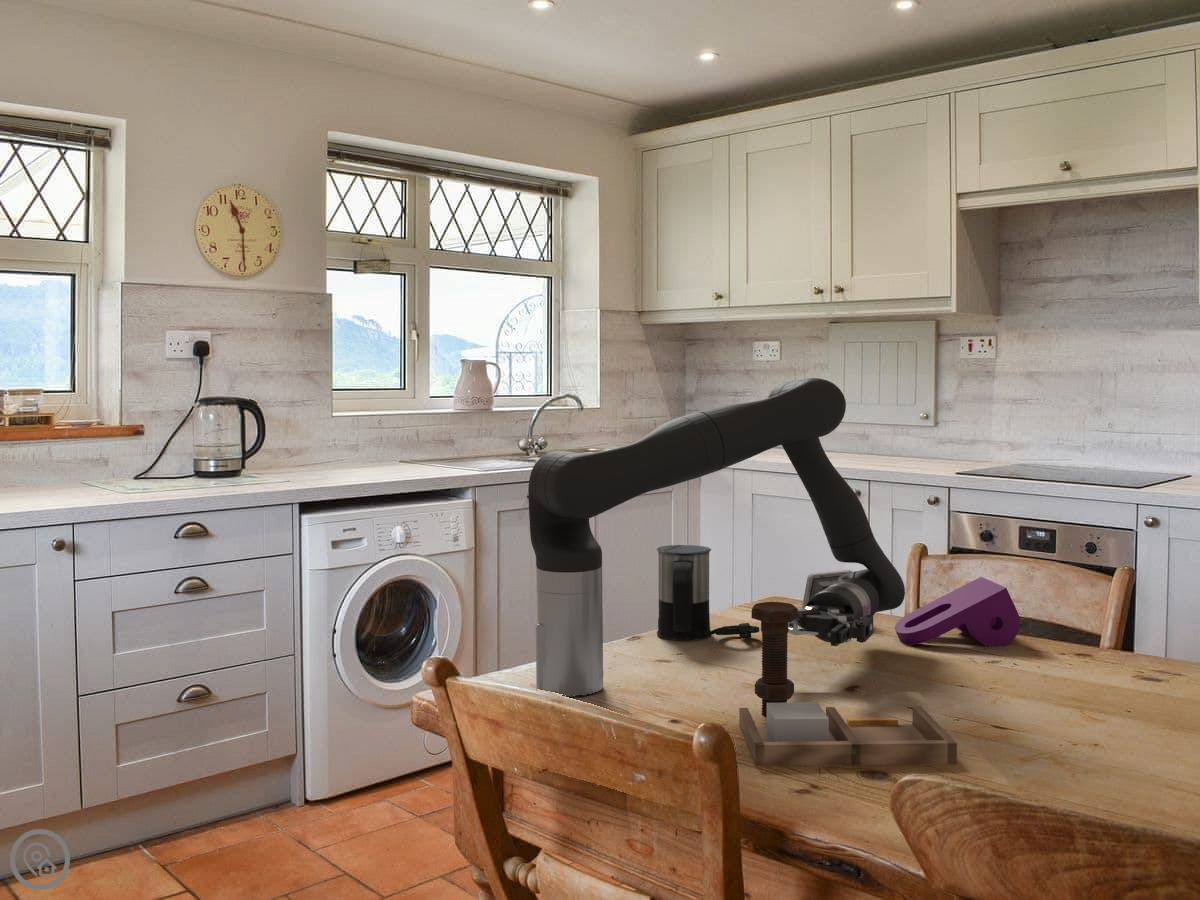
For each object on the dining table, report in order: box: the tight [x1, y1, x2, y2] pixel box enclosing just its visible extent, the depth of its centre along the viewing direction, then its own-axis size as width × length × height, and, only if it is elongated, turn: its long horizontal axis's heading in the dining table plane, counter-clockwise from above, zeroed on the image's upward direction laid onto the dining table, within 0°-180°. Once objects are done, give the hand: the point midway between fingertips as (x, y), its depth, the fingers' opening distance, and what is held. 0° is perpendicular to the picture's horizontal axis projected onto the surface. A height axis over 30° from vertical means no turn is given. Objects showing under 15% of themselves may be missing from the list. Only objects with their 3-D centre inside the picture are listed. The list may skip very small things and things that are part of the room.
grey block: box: [766, 701, 829, 742], centre depth 123 cm, size 6×6×4 cm
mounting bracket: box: [894, 576, 1021, 647], centre depth 175 cm, size 9×8×18 cm
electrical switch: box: [801, 569, 853, 609], centre depth 187 cm, size 9×5×9 cm, turn 113°
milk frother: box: [656, 544, 761, 642], centre depth 177 cm, size 14×16×15 cm
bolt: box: [751, 601, 799, 718], centre depth 133 cm, size 6×5×15 cm
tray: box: [738, 705, 958, 767], centre depth 123 cm, size 22×14×4 cm, turn 90°
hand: (802, 634), depth 142 cm, fingers open, 8 cm apart
